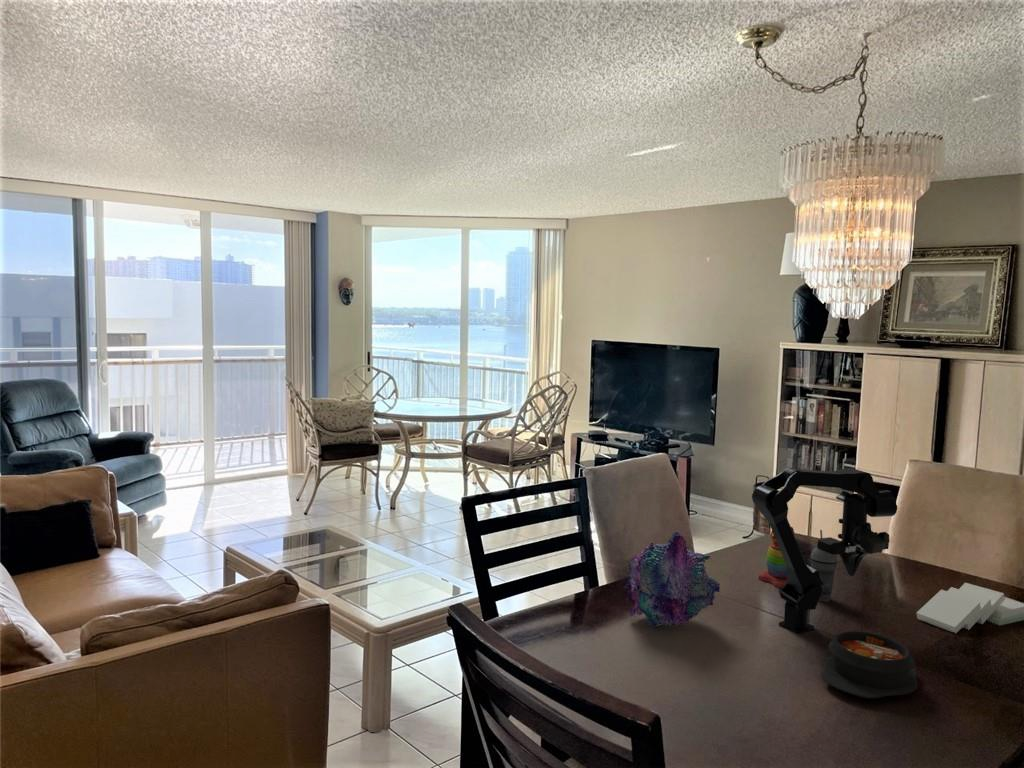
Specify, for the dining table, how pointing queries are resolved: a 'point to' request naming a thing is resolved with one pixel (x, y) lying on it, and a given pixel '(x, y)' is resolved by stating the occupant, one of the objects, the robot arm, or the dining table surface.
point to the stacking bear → (775, 565)
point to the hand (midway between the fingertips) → (851, 575)
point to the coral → (669, 583)
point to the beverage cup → (824, 570)
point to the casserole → (869, 665)
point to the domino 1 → (948, 611)
